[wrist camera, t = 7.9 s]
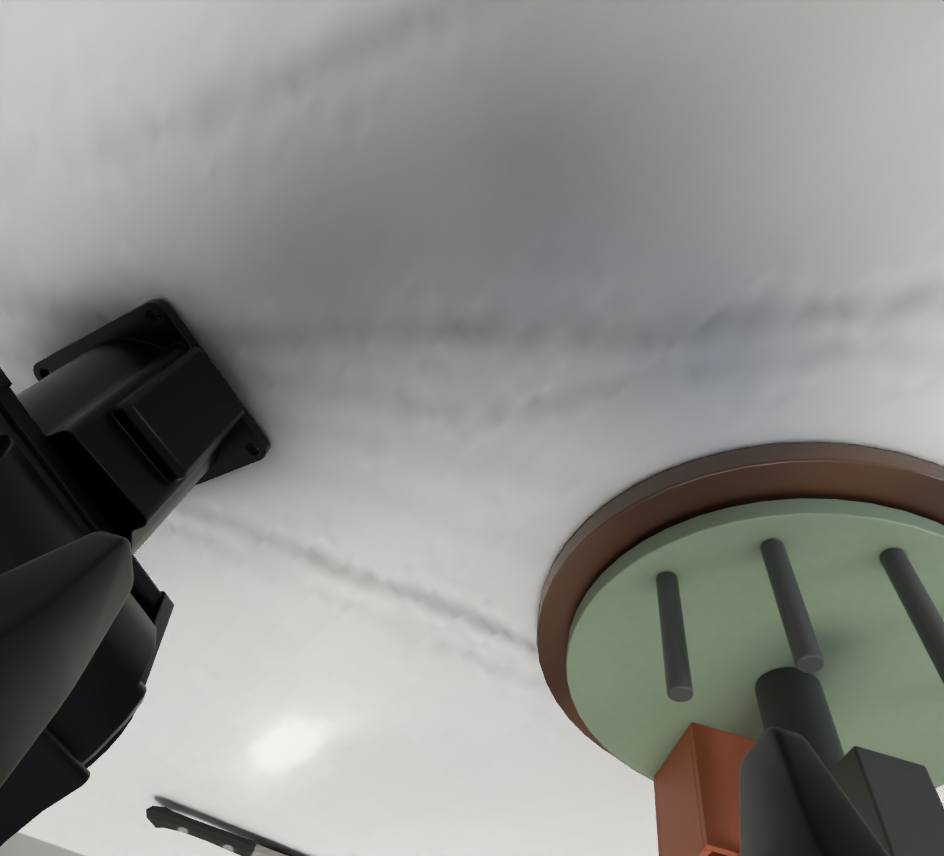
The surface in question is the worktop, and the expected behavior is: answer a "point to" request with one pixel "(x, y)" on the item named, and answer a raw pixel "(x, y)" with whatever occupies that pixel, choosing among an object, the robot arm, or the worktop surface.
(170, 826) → the chef's knife
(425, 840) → the worktop surface
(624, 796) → the worktop surface
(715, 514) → the drying rack
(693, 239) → the worktop surface
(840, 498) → the turntable base
